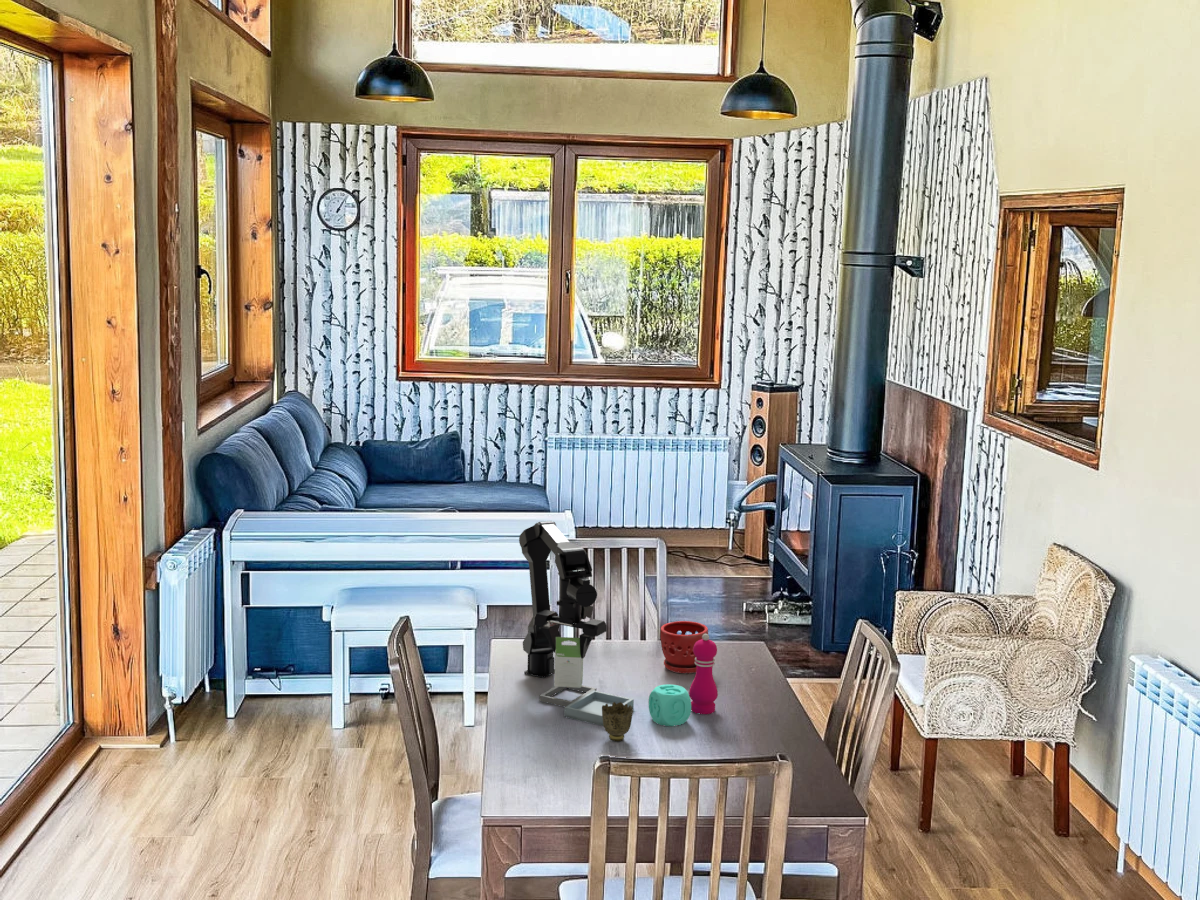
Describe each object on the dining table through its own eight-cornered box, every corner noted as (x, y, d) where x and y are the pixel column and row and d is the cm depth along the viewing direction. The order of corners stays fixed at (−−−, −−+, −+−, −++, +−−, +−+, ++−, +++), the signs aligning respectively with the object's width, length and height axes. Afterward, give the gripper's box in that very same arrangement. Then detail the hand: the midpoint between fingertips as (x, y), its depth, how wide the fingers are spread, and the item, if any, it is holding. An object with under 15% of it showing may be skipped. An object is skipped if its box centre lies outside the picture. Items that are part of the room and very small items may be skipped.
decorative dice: (676, 713, 320) (677, 682, 318) (691, 724, 313) (692, 693, 311) (647, 716, 317) (648, 686, 315) (661, 728, 309) (662, 696, 308)
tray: (564, 717, 315) (564, 707, 314) (593, 699, 327) (593, 690, 327) (605, 726, 309) (605, 716, 309) (633, 708, 322) (633, 699, 322)
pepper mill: (721, 708, 324) (724, 632, 321) (711, 717, 317) (714, 639, 314) (694, 703, 327) (697, 627, 324) (684, 712, 320) (687, 635, 317)
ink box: (582, 683, 330) (584, 633, 327) (581, 688, 326) (582, 638, 323) (556, 682, 330) (557, 632, 328) (554, 687, 326) (555, 636, 324)
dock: (539, 701, 325) (539, 695, 325) (564, 686, 336) (564, 681, 336) (571, 708, 321) (571, 702, 320) (596, 693, 332) (596, 688, 331)
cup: (609, 747, 297) (610, 715, 295) (595, 736, 303) (596, 704, 302) (637, 742, 300) (638, 710, 299) (622, 731, 306) (623, 700, 305)
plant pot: (675, 658, 362) (677, 617, 360) (715, 667, 355) (717, 626, 353) (650, 669, 352) (651, 627, 350) (690, 680, 344) (692, 637, 342)
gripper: (618, 594, 327) (616, 653, 329) (555, 583, 336) (554, 640, 338) (596, 605, 317) (595, 665, 319) (533, 593, 326) (532, 652, 328)
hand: (569, 655), depth 327 cm, fingers closed on ink box, 8 cm apart
